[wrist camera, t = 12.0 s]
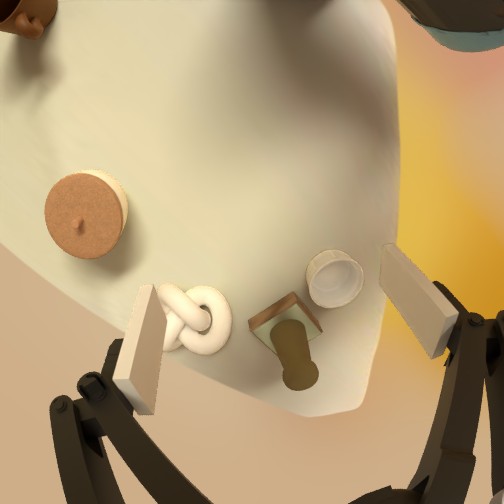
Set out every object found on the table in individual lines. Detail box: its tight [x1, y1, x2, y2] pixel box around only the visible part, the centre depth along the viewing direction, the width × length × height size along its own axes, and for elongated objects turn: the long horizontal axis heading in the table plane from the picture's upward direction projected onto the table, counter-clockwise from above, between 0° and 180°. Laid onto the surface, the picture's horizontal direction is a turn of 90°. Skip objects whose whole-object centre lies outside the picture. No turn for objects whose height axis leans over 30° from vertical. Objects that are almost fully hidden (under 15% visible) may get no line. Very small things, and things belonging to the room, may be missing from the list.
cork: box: [270, 319, 319, 391], centre depth 44 cm, size 6×6×11 cm
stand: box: [248, 292, 323, 356], centre depth 50 cm, size 9×9×3 cm
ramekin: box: [306, 249, 364, 308], centre depth 46 cm, size 9×9×4 cm
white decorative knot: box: [157, 283, 232, 355], centre depth 44 cm, size 11×12×9 cm
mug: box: [0, 0, 57, 39], centre depth 20 cm, size 12×8×9 cm, turn 35°
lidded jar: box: [45, 170, 128, 259], centre depth 34 cm, size 11×11×9 cm
